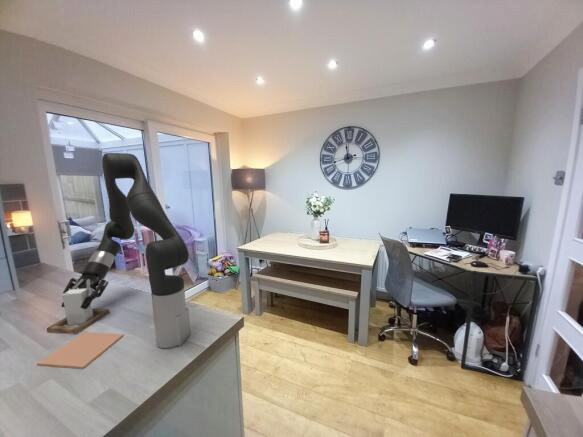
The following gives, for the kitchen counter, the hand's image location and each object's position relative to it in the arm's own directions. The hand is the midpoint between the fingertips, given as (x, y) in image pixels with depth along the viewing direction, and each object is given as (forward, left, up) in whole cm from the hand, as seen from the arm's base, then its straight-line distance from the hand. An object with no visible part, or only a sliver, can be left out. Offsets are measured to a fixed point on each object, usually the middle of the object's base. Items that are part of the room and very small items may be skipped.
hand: (73, 307), depth 83 cm
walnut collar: (0, -2, -6) cm, 7 cm away
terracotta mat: (-15, +11, -6) cm, 20 cm away
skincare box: (0, -2, -7) cm, 7 cm away
